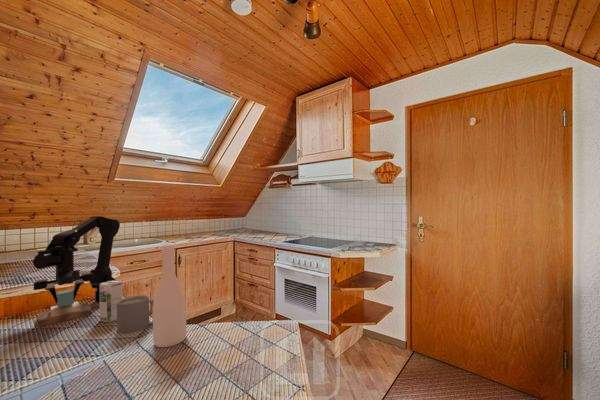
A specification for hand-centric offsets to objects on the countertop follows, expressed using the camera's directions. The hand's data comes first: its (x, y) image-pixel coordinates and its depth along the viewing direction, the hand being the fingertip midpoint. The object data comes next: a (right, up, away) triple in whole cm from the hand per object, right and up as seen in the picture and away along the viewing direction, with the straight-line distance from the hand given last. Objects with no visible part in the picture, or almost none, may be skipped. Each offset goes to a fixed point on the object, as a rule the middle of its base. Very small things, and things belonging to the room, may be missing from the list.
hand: (65, 301), depth 113 cm
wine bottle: (+57, -3, -27) cm, 63 cm away
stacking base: (0, -6, 0) cm, 6 cm away
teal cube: (0, -1, 0) cm, 1 cm away
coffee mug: (+39, -4, -14) cm, 41 cm away
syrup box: (+23, -5, -6) cm, 25 cm away
